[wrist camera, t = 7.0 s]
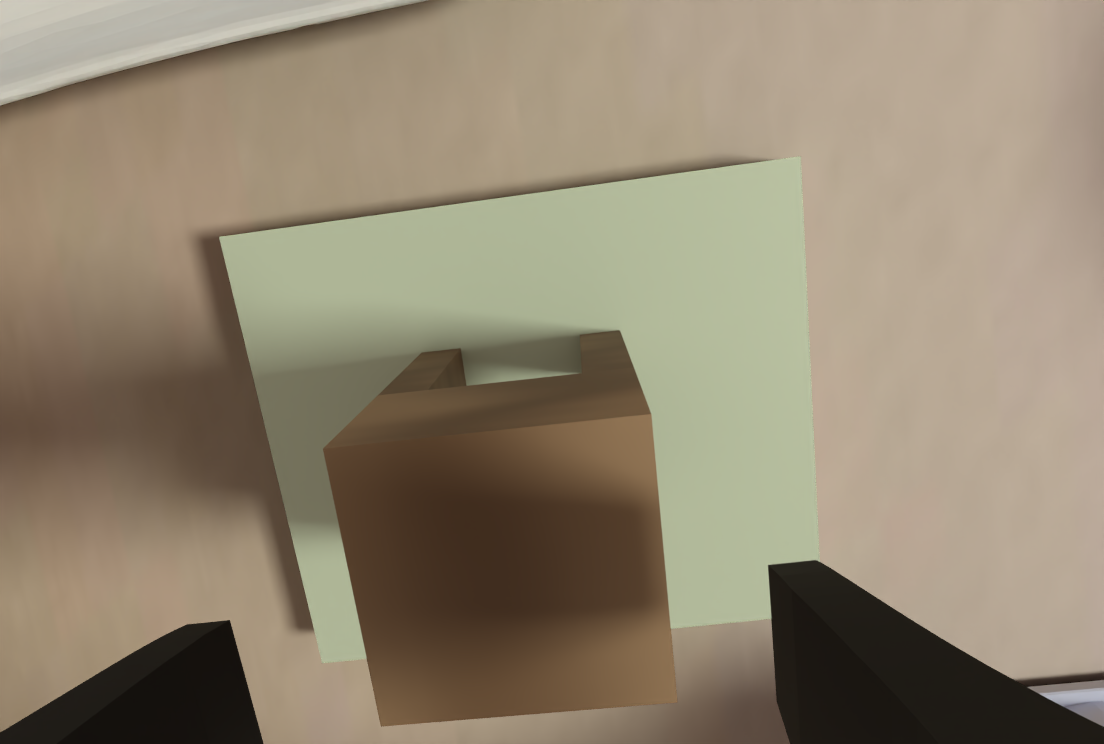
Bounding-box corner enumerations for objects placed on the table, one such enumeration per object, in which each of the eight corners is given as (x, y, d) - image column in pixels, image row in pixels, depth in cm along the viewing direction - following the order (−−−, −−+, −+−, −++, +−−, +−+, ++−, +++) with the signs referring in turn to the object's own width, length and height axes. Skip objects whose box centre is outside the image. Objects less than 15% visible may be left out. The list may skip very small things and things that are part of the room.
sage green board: (781, 160, 17) (800, 156, 16) (804, 584, 20) (822, 613, 19) (247, 234, 18) (218, 236, 17) (339, 631, 21) (322, 663, 19)
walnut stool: (619, 329, 17) (651, 413, 10) (638, 515, 18) (677, 702, 11) (421, 352, 17) (322, 448, 10) (451, 533, 18) (380, 726, 12)
